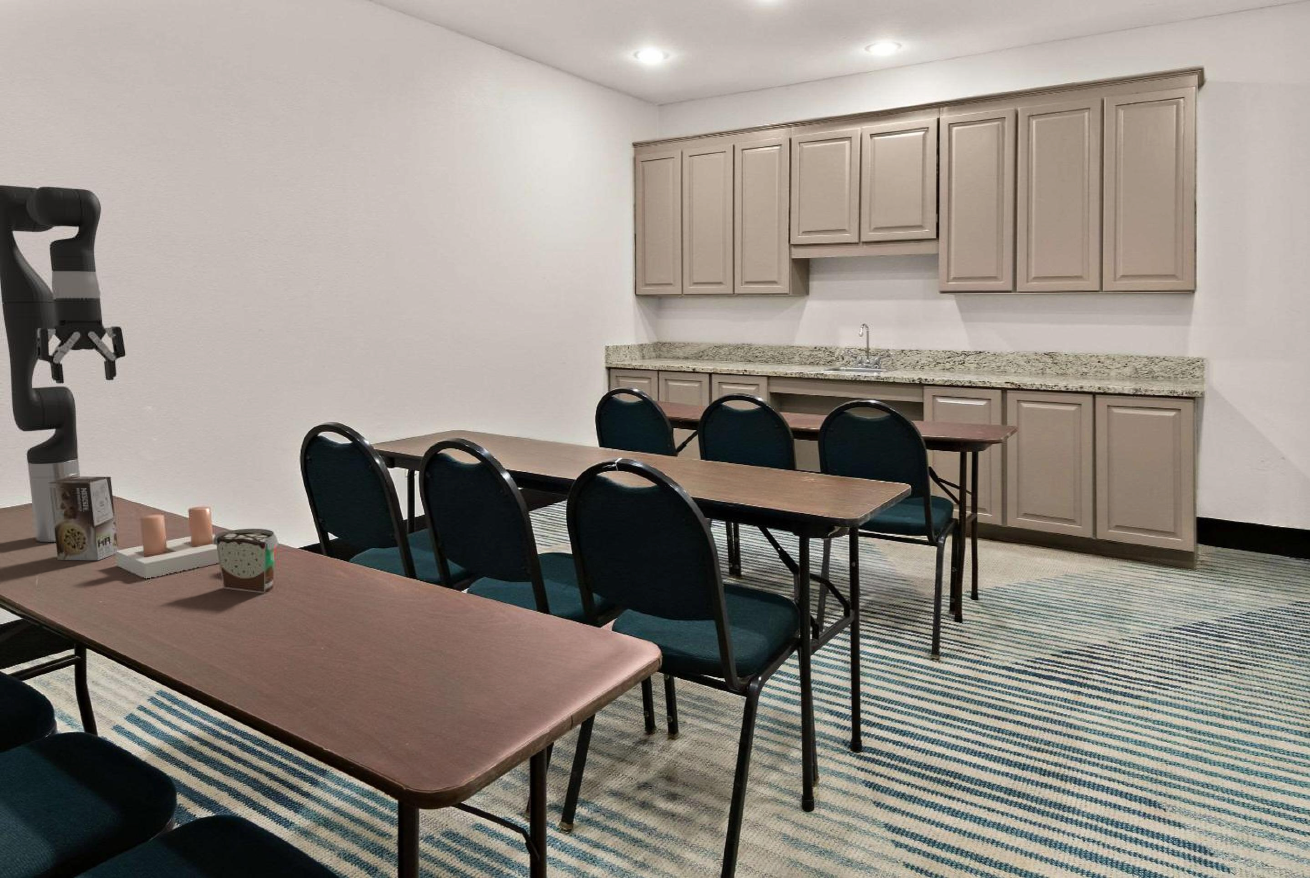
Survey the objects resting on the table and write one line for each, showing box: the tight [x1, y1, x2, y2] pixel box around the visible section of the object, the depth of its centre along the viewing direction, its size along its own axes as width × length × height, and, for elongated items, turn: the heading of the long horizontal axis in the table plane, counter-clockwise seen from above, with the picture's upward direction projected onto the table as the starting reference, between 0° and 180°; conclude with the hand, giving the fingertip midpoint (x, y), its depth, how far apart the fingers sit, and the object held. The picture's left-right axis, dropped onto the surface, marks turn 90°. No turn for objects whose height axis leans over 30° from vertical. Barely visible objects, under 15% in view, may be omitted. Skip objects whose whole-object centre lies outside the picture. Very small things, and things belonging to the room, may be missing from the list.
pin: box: [140, 514, 167, 558], centre depth 173 cm, size 4×4×10 cm
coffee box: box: [49, 476, 119, 561], centre depth 180 cm, size 9×6×16 cm
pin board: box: [115, 506, 219, 580], centre depth 177 cm, size 14×18×10 cm
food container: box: [214, 528, 279, 594], centre depth 161 cm, size 12×6×10 cm, turn 71°
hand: (85, 381), depth 171 cm, fingers open, 8 cm apart
